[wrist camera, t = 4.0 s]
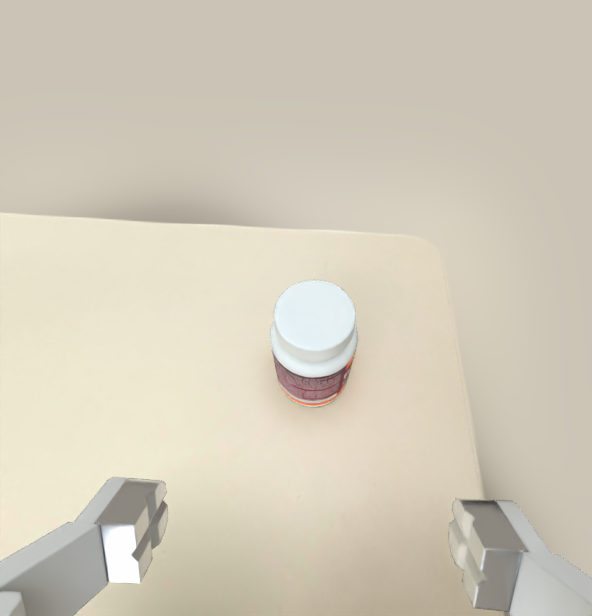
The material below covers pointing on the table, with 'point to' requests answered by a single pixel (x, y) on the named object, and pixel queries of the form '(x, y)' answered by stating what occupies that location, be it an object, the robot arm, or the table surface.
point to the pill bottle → (313, 341)
